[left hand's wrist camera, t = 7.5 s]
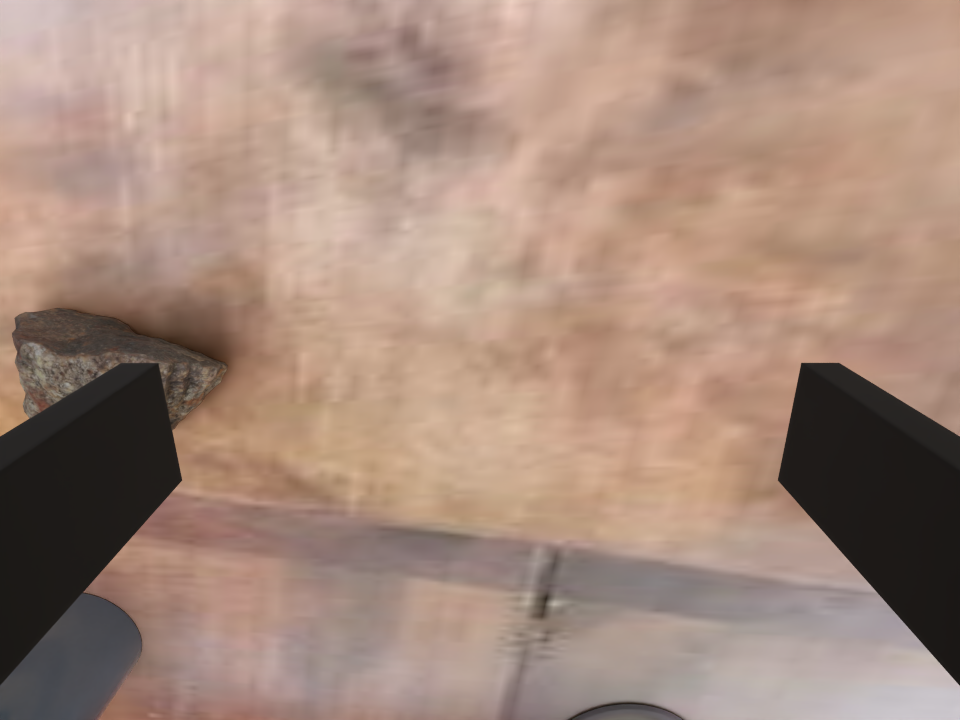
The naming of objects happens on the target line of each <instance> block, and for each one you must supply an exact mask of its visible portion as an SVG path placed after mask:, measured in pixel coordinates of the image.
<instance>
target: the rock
mask: <svg viewBox="0 0 960 720" xmlns="http://www.w3.org/2000/svg"><path fill="white" fill-rule="evenodd" d="M15 323H16V329H15V331H14V332H13V333H12V337H13V341H14V345H15V348H16V350H17V356H16V360H15V364H16V366H17V369H18V371H19V376H20V383H21V385H22V387H23V389H24V391H25V393H26V395H25V399H24V402H23V407H24V412H25V413H26V414H27V415H28V417H29V418H32V417H33V416H35V415H37V414H38V413H40V412H42V411H43V410H45V409H46V408H48V407H50V406H51V405H53V404H55V403H56V402H58V401H60V400H61V399H63V398H64V397H66V396H68V395H69V394H71V393H73V392H74V391H76V390H78V389H79V388H81V387H82V386H84V385H86V384H87V383H89V382H91V381H92V380H94V379H96V378H97V377H99V376H101V375H102V374H104V373H105V372H107V371H109V370H110V369H112V368H114V367H115V366H117V365H119V364H120V363H159V368H160V373H161V378H162V383H163V388H164V393H165V398H166V403H167V408H168V413H169V418H170V423H171V428H172V430H173V429H175V428H176V426H177V424H178V423H179V422H180V421H181V420H183V419H184V418H185V417H186V415H187V414H188V413H189V412H190V411H191V410H193V409H195V408H196V407H197V406H198V405H199V404H200V403H201V402H202V401H203V399H204V397H205V396H206V395H207V394H208V393H209V392H210V391H211V390H212V389H213V388H214V387H215V386H217V385H218V384H219V383H220V382H221V380H222V377H223V375H224V373H225V372H226V370H227V367H228V366H227V365H226V363H224V362H221V361H217V360H214V359H212V358H209V357H207V356H205V355H204V354H202V353H199V352H195V351H192V350H189V349H188V348H185V347H183V346H180V345H177V344H173V343H169V342H167V341H165V340H163V339H160V338H152V337H147V336H145V335H137V334H135V333H134V332H133V331H132V330H131V328H130V327H129V326H128V325H126V324H124V323H123V322H121V321H119V320H118V319H116V318H110V317H104V316H97V315H92V314H85V313H79V312H78V311H76V310H68V309H60V308H55V309H50V310H45V311H39V312H25V313H22V314H20V315H18V316H17V317H15Z"/></svg>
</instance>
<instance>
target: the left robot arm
mask: <svg viewBox="0 0 960 720" xmlns="http://www.w3.org/2000/svg"><path fill="white" fill-rule="evenodd" d="M181 481H182V478H181V473H180V468H179V463H178V458H177V453H176V448H175V443H174V438H173V433H172V428H171V423H170V418H169V413H168V408H167V403H166V398H165V393H164V388H163V383H162V378H161V373H160V368H159V363H120V364H119V365H117V366H115V367H114V368H112V369H110V370H109V371H107V372H105V373H104V374H102V375H101V376H99V377H97V378H96V379H94V380H92V381H91V382H89V383H87V384H86V385H84V386H82V387H81V388H79V389H78V390H76V391H74V392H73V393H71V394H69V395H68V396H66V397H64V398H63V399H61V400H60V401H58V402H56V403H55V404H53V405H51V406H50V407H48V408H46V409H45V410H43V411H42V412H40V413H38V414H37V415H35V416H33V417H32V418H30V419H28V420H27V421H25V422H23V423H22V424H20V425H19V426H17V427H15V428H14V429H12V430H10V431H9V432H7V433H5V434H4V435H2V436H1V437H0V685H1V684H2V683H3V682H4V681H5V680H6V678H7V677H8V676H9V675H10V674H11V673H12V672H13V671H14V669H15V668H16V667H17V666H18V665H19V664H20V663H21V662H22V660H23V659H24V658H25V657H26V656H27V655H28V654H29V652H30V651H31V650H32V649H33V648H34V647H35V646H36V645H37V643H38V642H39V641H40V640H41V639H42V638H43V637H44V636H45V634H46V633H47V632H48V631H49V630H50V629H51V628H52V627H53V625H54V624H55V623H56V622H57V621H58V620H59V619H60V618H61V616H62V615H63V614H64V613H65V612H66V611H67V610H68V608H69V607H70V606H71V605H72V604H73V603H74V602H75V601H76V599H77V598H78V597H79V596H80V595H81V594H82V593H83V592H84V590H85V589H86V588H87V587H88V586H89V585H90V584H91V583H92V581H93V580H94V579H95V578H96V577H97V576H98V575H99V573H100V572H101V571H102V570H103V569H104V568H105V567H106V566H107V564H108V563H109V562H110V561H111V560H112V559H113V558H114V557H115V555H116V554H117V553H118V552H119V551H120V550H121V549H122V548H123V546H124V545H125V544H126V543H127V542H128V541H129V540H130V538H131V537H132V536H133V535H134V534H135V533H136V532H137V531H138V529H139V528H140V527H141V526H142V525H143V524H144V523H145V522H146V520H147V519H148V518H149V517H150V516H151V515H152V514H153V513H154V511H155V510H156V509H157V508H158V507H159V506H160V505H161V504H162V502H163V501H164V500H165V499H166V498H167V497H168V496H169V494H170V493H171V492H172V491H173V490H174V489H175V488H176V487H177V485H178V484H179V483H180V482H181ZM778 481H779V482H780V483H781V484H782V485H783V487H784V488H785V489H786V490H787V491H788V492H789V493H790V494H791V496H792V497H793V498H794V499H795V500H796V501H797V502H798V504H799V505H800V506H801V507H802V508H803V509H804V510H805V511H806V513H807V514H808V515H809V516H810V517H811V518H812V519H813V520H814V522H815V523H816V524H817V525H818V526H819V527H820V528H821V529H822V531H823V532H824V533H825V534H826V535H827V536H828V537H829V538H830V540H831V541H832V542H833V543H834V544H835V545H836V546H837V548H838V549H839V550H840V551H841V552H842V553H843V554H844V555H845V557H846V558H847V559H848V560H849V561H850V562H851V563H852V564H853V566H854V567H855V568H856V569H857V570H858V571H859V572H860V573H861V575H862V576H863V577H864V578H865V579H866V580H867V581H868V583H869V584H870V585H871V586H872V587H873V588H874V589H875V590H876V592H877V593H878V594H879V595H880V596H881V597H882V598H883V599H884V601H885V602H886V603H887V604H888V605H889V606H890V607H891V608H892V610H893V611H894V612H895V613H896V614H897V615H898V616H899V618H900V619H901V620H902V621H903V622H904V623H905V624H906V625H907V627H908V628H909V629H910V630H911V631H912V632H913V633H914V634H915V636H916V637H917V638H918V639H919V640H920V641H921V642H922V643H923V645H924V646H925V647H926V648H927V649H928V650H929V651H930V652H931V654H932V655H933V656H934V657H935V658H936V659H937V660H938V662H939V663H940V664H941V665H942V666H943V667H944V668H945V669H946V671H947V672H948V673H949V674H950V675H951V676H952V677H953V678H954V680H955V681H956V682H957V683H958V684H959V685H960V437H959V436H958V435H956V434H955V433H953V432H951V431H950V430H948V429H946V428H945V427H943V426H941V425H940V424H938V423H937V422H935V421H933V420H932V419H930V418H928V417H927V416H925V415H923V414H922V413H920V412H918V411H917V410H915V409H914V408H912V407H910V406H909V405H907V404H905V403H904V402H902V401H900V400H899V399H897V398H896V397H894V396H892V395H891V394H889V393H887V392H886V391H884V390H882V389H881V388H879V387H878V386H876V385H874V384H873V383H871V382H869V381H868V380H866V379H864V378H863V377H861V376H859V375H858V374H856V373H855V372H853V371H851V370H850V369H848V368H846V367H845V366H843V365H841V364H840V363H801V368H800V373H799V378H798V383H797V388H796V393H795V398H794V403H793V408H792V413H791V418H790V423H789V428H788V433H787V438H786V443H785V448H784V453H783V458H782V463H781V468H780V473H779V478H778ZM572 720H683V719H681V718H680V717H678V716H676V715H674V714H672V713H670V712H668V711H665V710H663V709H659V708H656V707H652V706H646V705H638V704H620V705H611V706H606V707H601V708H598V709H594V710H591V711H588V712H586V713H584V714H581V715H579V716H577V717H575V718H574V719H572Z"/></svg>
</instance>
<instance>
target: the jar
mask: <svg viewBox="0 0 960 720" xmlns="http://www.w3.org/2000/svg"><path fill="white" fill-rule="evenodd" d="M141 650H142V641H141V636H140V633H139V631H138V629H137V627H136V625H135V623H134V622H133V621H132V620H131V618H130V617H129V616H128V615H127V614H126V613H125V612H124V611H122V610H121V609H120V608H119V607H117V606H116V605H114V604H112V603H111V602H109V601H107V600H105V599H102V598H100V597H97V596H94V595H90V594H85V593H82V594H81V595H80V596H79V597H78V598H77V599H76V601H75V602H74V603H73V604H72V605H71V606H70V607H69V608H68V610H67V611H66V612H65V613H64V614H63V615H62V616H61V618H60V619H59V620H58V621H57V622H56V623H55V624H54V625H53V627H52V628H51V629H50V630H49V631H48V632H47V633H46V634H45V636H44V637H43V638H42V639H41V640H40V641H39V642H38V643H37V645H36V646H35V647H34V648H33V649H32V650H31V651H30V652H29V654H28V655H27V656H26V657H25V658H24V659H23V660H22V662H21V663H20V664H19V665H18V666H17V667H16V668H15V669H14V671H13V672H12V673H11V674H10V675H9V676H8V677H7V678H6V680H5V681H4V682H3V683H2V684H1V685H0V720H99V719H100V717H101V716H102V714H103V713H104V711H105V710H106V708H107V707H108V705H109V704H110V702H111V701H112V699H113V698H114V696H115V695H116V693H117V692H118V690H119V689H120V687H121V686H122V684H123V683H124V681H125V680H126V678H127V677H128V675H129V674H130V672H131V671H132V669H133V667H134V666H135V664H136V663H137V661H138V659H139V657H140V654H141Z"/></svg>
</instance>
